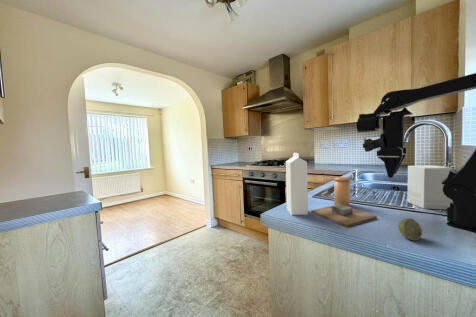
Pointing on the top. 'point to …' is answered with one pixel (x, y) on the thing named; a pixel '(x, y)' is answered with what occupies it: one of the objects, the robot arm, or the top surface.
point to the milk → (296, 185)
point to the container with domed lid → (342, 191)
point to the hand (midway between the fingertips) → (392, 175)
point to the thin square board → (343, 215)
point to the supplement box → (427, 186)
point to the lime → (410, 229)
